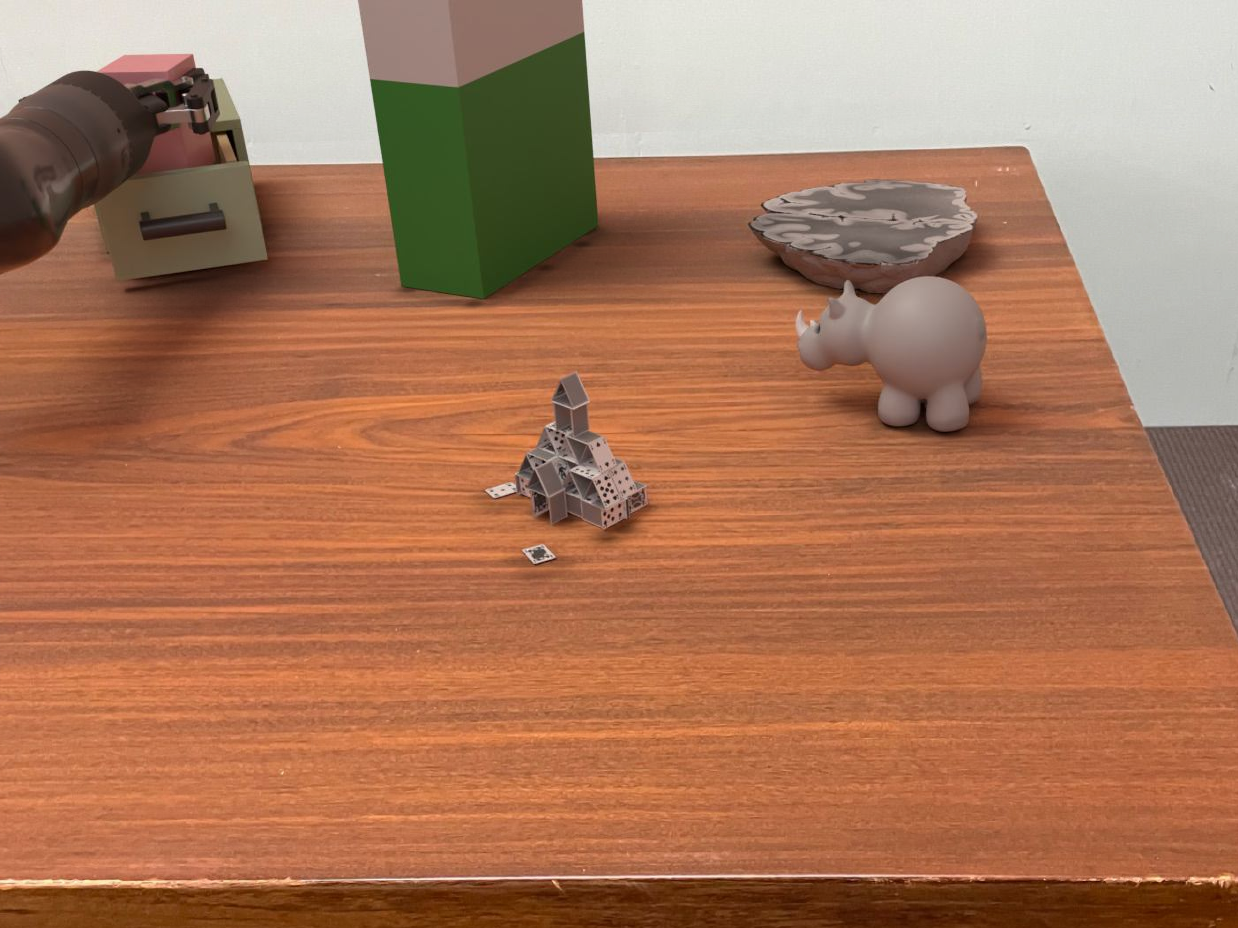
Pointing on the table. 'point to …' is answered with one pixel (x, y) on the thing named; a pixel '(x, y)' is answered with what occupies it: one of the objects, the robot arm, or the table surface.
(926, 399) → the chubby cartoon animal
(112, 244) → the drawer
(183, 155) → the block
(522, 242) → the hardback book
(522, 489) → the house of cards
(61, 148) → the robot arm
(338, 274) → the table surface
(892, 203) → the brain slice
